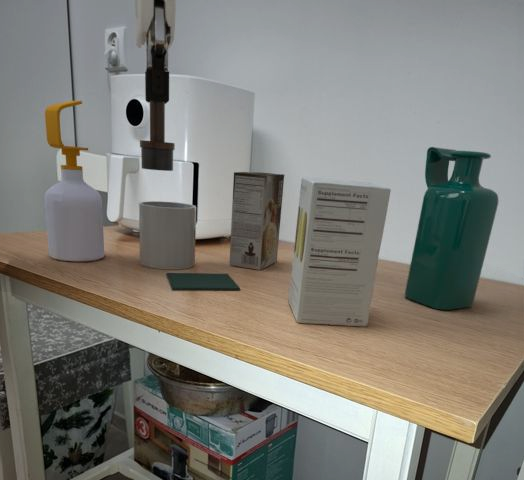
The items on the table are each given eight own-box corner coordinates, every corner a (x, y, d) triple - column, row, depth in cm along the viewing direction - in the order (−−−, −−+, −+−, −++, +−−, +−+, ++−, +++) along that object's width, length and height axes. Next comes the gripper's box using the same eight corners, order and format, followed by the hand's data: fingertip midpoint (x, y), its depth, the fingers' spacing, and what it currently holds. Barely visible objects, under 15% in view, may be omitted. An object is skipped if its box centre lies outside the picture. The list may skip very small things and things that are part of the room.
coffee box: (246, 257, 96) (252, 171, 90) (277, 262, 94) (285, 174, 88) (227, 265, 88) (233, 171, 82) (261, 270, 86) (268, 174, 80)
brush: (140, 169, 73) (139, 53, 67) (139, 167, 77) (138, 59, 72) (176, 171, 74) (177, 58, 69) (172, 169, 79) (173, 64, 73)
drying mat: (172, 290, 70) (172, 287, 69) (166, 275, 78) (166, 272, 77) (240, 290, 72) (240, 288, 72) (227, 275, 80) (227, 273, 80)
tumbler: (141, 269, 80) (140, 206, 76) (138, 257, 88) (137, 200, 84) (198, 270, 83) (200, 209, 79) (190, 258, 91) (191, 203, 87)
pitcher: (478, 307, 74) (517, 152, 66) (442, 312, 70) (479, 148, 62) (427, 290, 82) (457, 150, 74) (392, 294, 78) (419, 145, 69)
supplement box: (286, 301, 69) (299, 176, 62) (350, 305, 70) (369, 181, 63) (296, 324, 60) (312, 180, 54) (368, 327, 61) (393, 186, 55)
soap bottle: (114, 259, 85) (109, 103, 76) (64, 264, 79) (51, 94, 70) (88, 249, 91) (80, 103, 81) (39, 254, 84) (25, 95, 75)
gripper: (127, -36, 71) (129, 103, 78) (128, -81, 57) (132, 94, 64) (178, -27, 73) (176, 108, 80) (192, -68, 59) (189, 101, 66)
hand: (157, 101), depth 72 cm, fingers closed on brush
